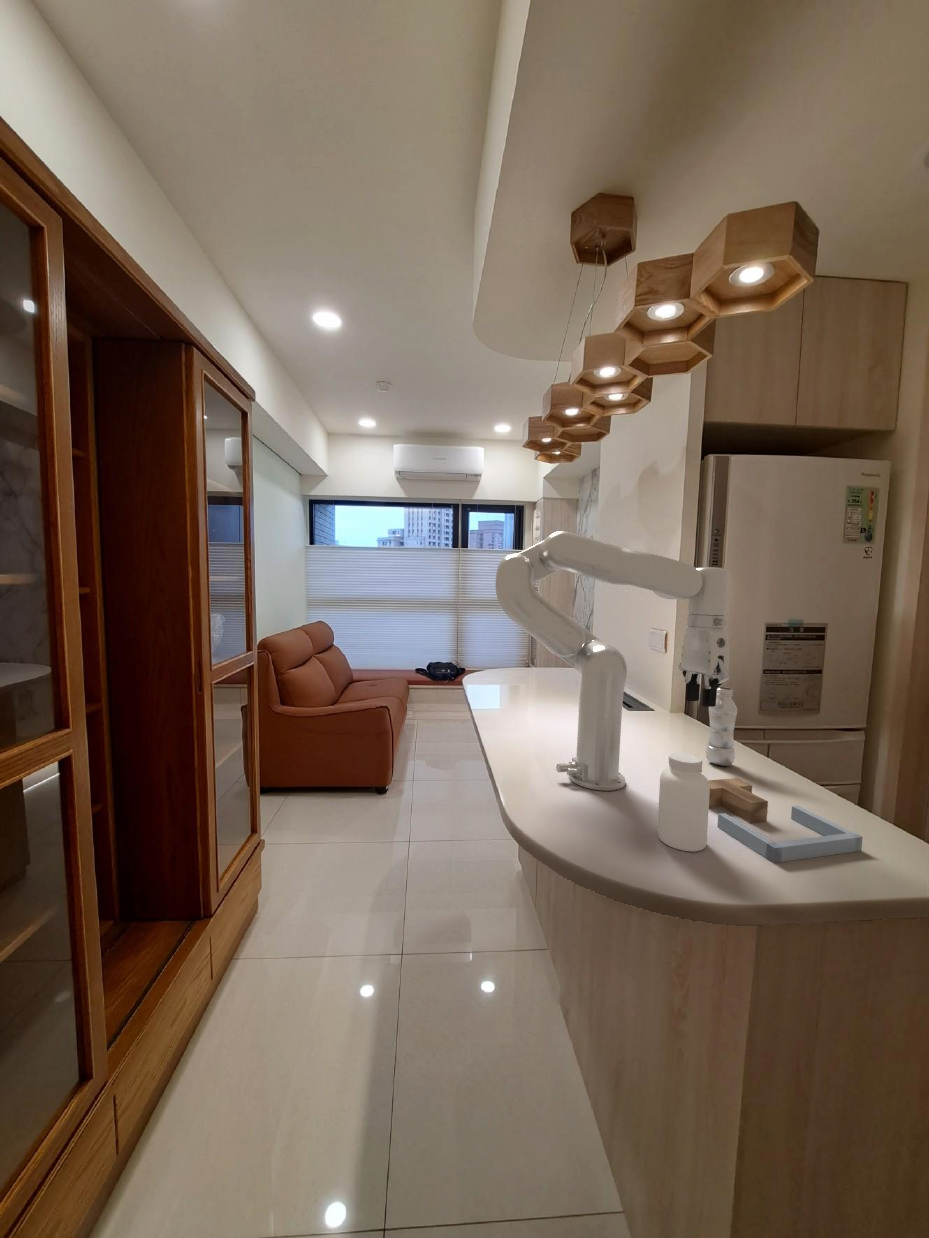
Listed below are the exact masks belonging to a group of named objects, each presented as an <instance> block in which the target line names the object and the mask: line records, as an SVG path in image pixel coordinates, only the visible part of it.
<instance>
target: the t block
mask: <svg viewBox="0 0 929 1238" xmlns="http://www.w3.org/2000/svg"><path fill="white" fill-rule="evenodd" d="M708 780H709V784H710V794H709V809H715V808H723V809H725V810H726V811H727V812H729V813H732V814H733V815H734V816H736V817H738V818H740V819H742V820H743V821H745V822H747V823H749V824H753V823H754V824H756V823H763V822H764V823H765V822H767V821H768V820H767V819H768V807H769V806H768V805H769V801H768V800H766V799H764V798H762V797H760V796H758V795H757V794H754V793H753V785H752V784H751V783H748V782H746V781H744V780H742V779H740V778H738V777H735V778H722V779H708Z"/></svg>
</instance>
